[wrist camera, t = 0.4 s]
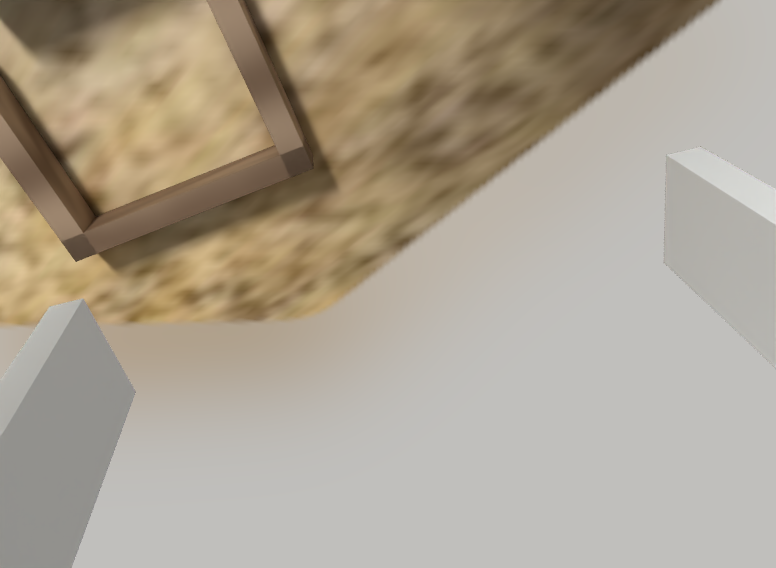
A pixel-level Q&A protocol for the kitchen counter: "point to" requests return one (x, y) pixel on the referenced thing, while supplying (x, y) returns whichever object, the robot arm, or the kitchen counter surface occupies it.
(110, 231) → the bay
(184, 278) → the kitchen counter surface
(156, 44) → the kitchen counter surface
